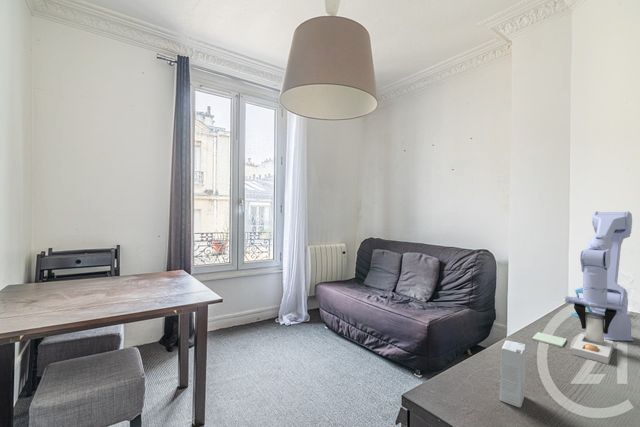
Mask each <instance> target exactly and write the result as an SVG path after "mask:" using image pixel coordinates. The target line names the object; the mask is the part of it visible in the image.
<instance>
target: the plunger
mask: <svg viewBox="0 0 640 427" xmlns="http://www.w3.org/2000/svg"><path fill="white" fill-rule="evenodd" d="M585 349H587V350H591V351H594V352H597V346H594V345H591V344H585Z"/></svg>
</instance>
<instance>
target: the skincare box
mask: <svg viewBox="0 0 640 427" xmlns="http://www.w3.org/2000/svg"><path fill="white" fill-rule="evenodd" d="M500 352H501V353H500V371H499V372H500V376H499V401H501V402H503V403H505V404H508V405H511V406H514V407H517V408H522V405H523V403H524V398H525V395H526V362H527V345H526V344H525V343H520V342H517V341H512V340H507V339H505V341H504V343H503V345H502V347H501V348H500Z"/></svg>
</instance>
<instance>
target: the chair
mask: <svg viewBox="0 0 640 427" xmlns="http://www.w3.org/2000/svg"><path fill="white" fill-rule="evenodd" d="M574 291H575V294H576V298H580V294H583V287H579V288H576V289H574ZM587 309H588V310H587ZM586 310H587V312H593V311H592V310H591V309H590V307H588V306H586ZM570 315H571V316H573V317H576V318H579V316H578V314H577V312H570ZM585 320H586V316H585Z"/></svg>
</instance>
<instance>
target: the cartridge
mask: <svg viewBox="0 0 640 427" xmlns="http://www.w3.org/2000/svg"><path fill="white" fill-rule="evenodd" d="M585 317H586V326H585V329H584V330H585V332H584V333H585V334H584V335H585V338H586V339H588V340H590V341H594V342H604V319H605V315H603V314H600V313H595V312H593V311H592V312H589V311H585Z"/></svg>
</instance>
